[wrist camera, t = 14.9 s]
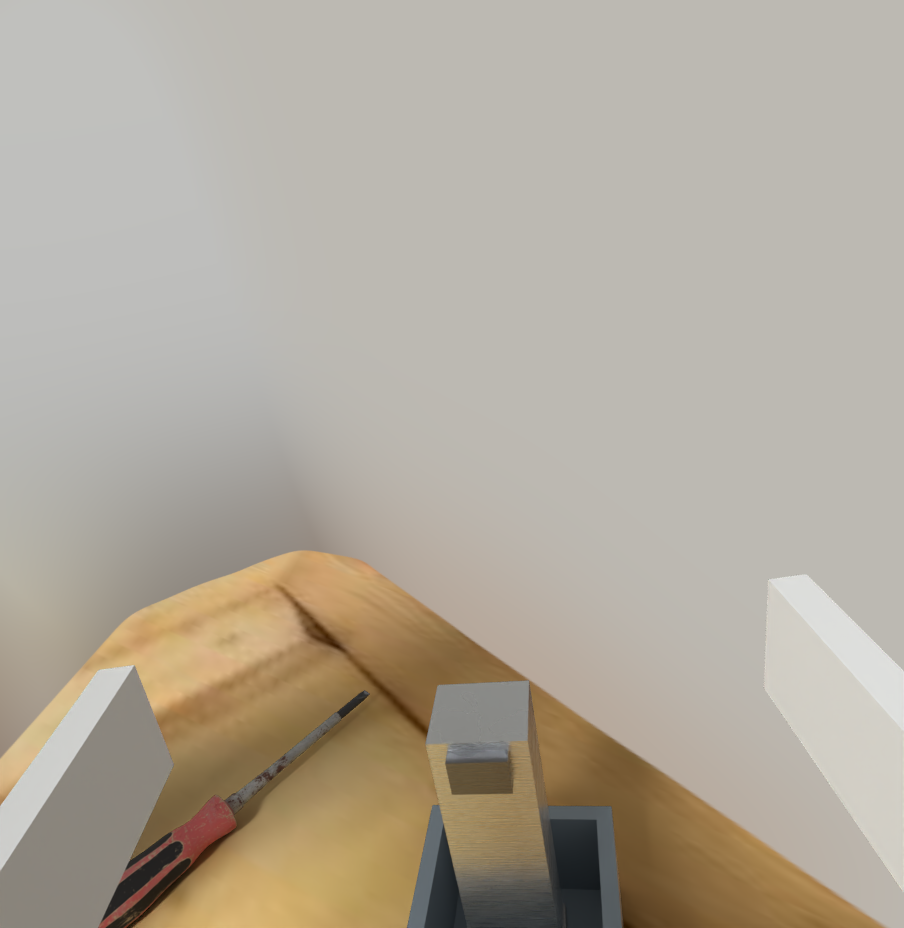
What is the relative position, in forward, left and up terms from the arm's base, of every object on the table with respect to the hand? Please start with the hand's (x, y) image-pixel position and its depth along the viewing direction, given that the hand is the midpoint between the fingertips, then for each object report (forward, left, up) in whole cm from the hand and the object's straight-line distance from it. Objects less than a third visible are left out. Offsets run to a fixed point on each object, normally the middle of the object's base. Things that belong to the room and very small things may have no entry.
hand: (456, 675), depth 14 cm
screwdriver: (-22, +19, -27) cm, 40 cm away
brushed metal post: (-2, +10, -26) cm, 28 cm away
